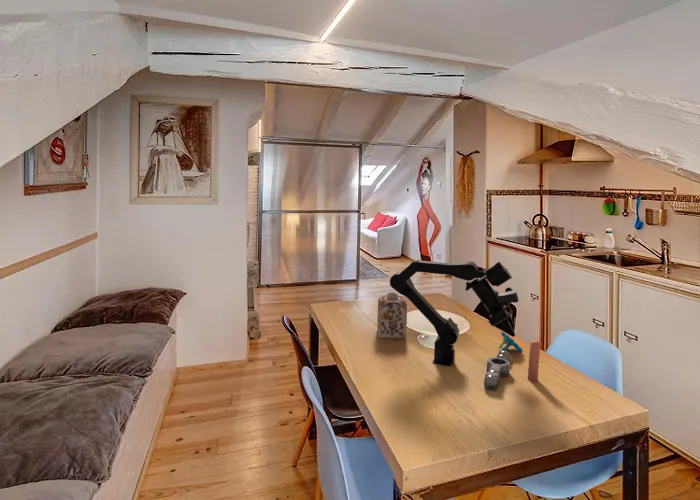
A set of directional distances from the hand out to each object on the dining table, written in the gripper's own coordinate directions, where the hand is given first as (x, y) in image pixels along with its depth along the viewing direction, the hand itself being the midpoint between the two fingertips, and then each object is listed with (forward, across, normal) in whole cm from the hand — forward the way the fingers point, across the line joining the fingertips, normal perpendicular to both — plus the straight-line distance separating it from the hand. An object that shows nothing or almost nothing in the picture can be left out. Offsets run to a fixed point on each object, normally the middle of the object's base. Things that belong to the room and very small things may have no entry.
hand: (514, 331), depth 145 cm
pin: (+15, -4, +4) cm, 16 cm away
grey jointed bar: (+9, -2, +12) cm, 15 cm away
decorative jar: (-19, +22, +47) cm, 55 cm away
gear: (+11, +20, +10) cm, 25 cm away
